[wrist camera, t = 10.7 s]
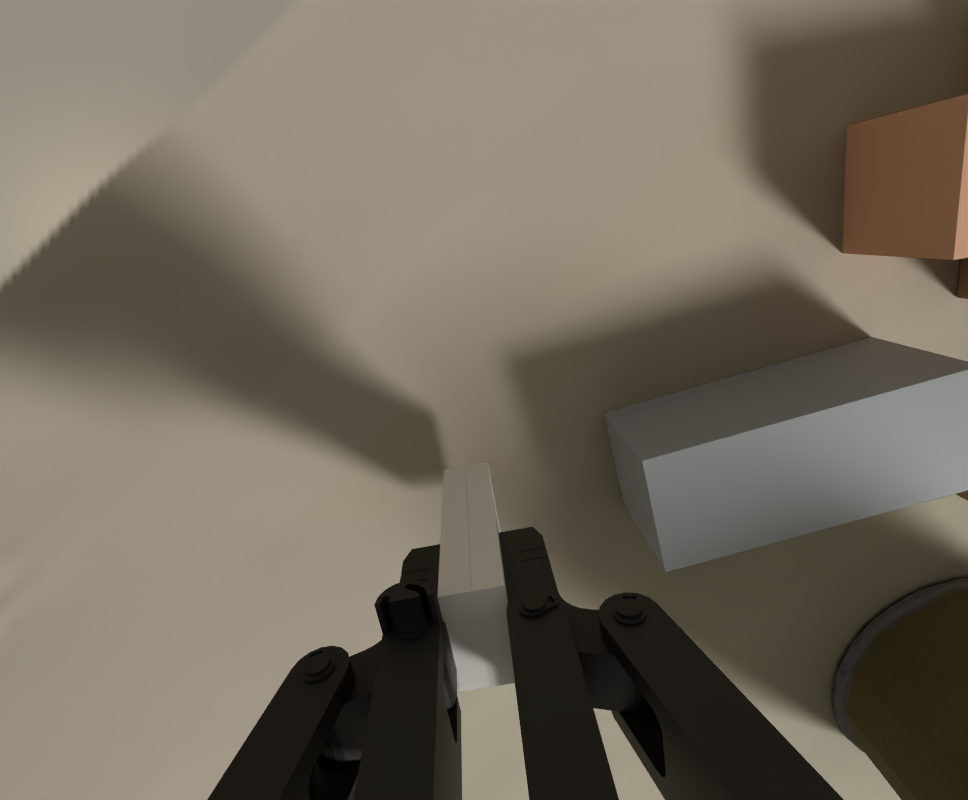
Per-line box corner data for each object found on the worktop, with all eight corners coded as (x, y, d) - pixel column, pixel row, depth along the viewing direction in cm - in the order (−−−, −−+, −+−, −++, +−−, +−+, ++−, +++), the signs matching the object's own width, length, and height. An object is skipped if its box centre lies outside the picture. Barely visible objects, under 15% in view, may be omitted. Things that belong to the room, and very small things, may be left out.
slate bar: (622, 503, 21) (665, 572, 17) (601, 411, 20) (642, 460, 16) (872, 433, 21) (981, 486, 16) (867, 335, 20) (982, 365, 15)
